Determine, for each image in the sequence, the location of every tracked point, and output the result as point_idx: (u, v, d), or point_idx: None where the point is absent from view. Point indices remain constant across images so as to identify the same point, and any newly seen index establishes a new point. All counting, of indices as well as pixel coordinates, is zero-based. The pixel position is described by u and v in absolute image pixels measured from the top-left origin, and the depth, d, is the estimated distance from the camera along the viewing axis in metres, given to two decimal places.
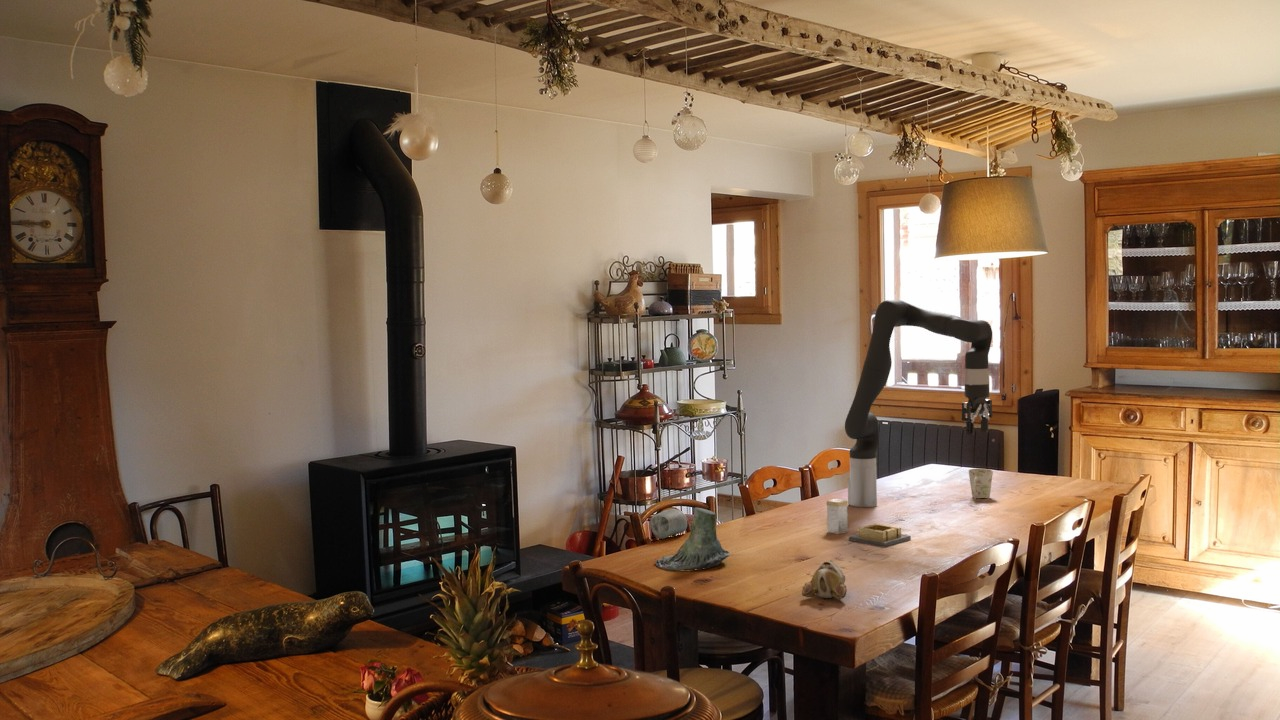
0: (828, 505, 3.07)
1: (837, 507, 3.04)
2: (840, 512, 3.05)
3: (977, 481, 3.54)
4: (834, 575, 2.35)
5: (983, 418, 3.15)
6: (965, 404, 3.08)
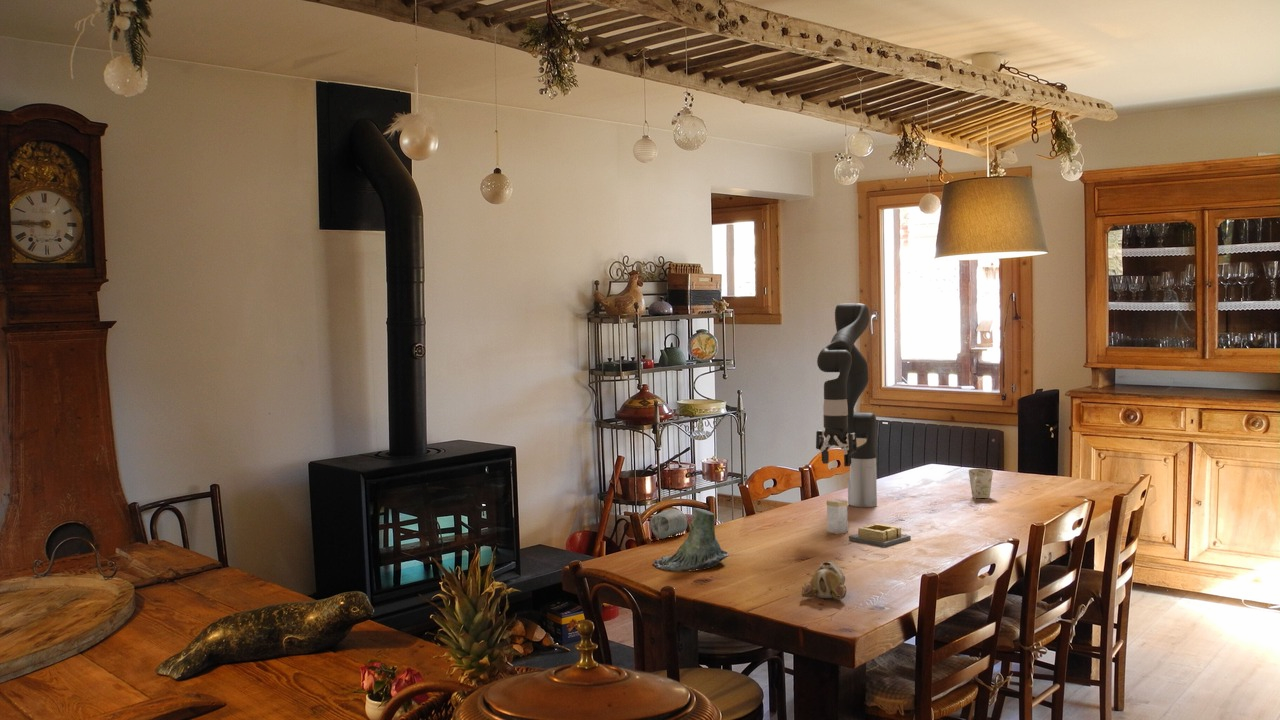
0: (828, 505, 3.07)
1: (837, 507, 3.04)
2: (840, 512, 3.05)
3: (977, 481, 3.54)
4: (834, 575, 2.35)
5: (825, 450, 3.09)
6: (853, 435, 3.01)
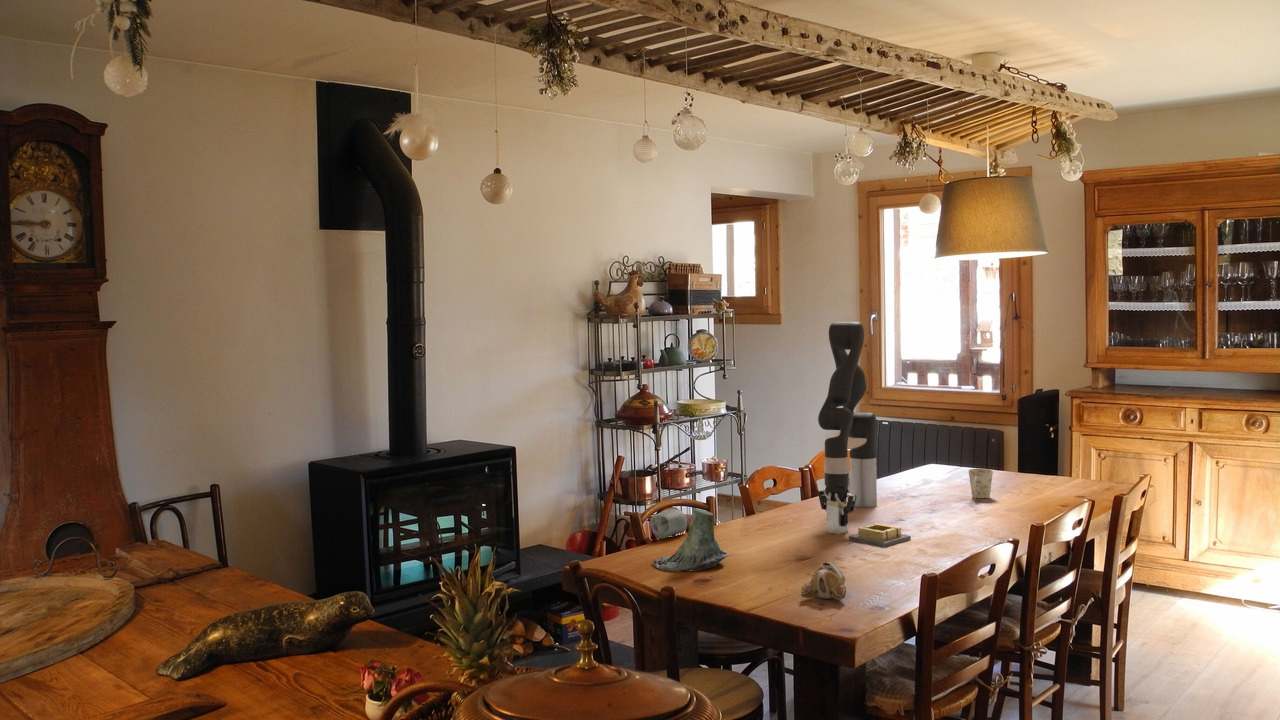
0: (828, 505, 3.07)
1: (837, 507, 3.04)
2: (840, 512, 3.05)
3: (977, 481, 3.54)
4: (833, 576, 2.34)
5: None
6: (854, 498, 3.02)
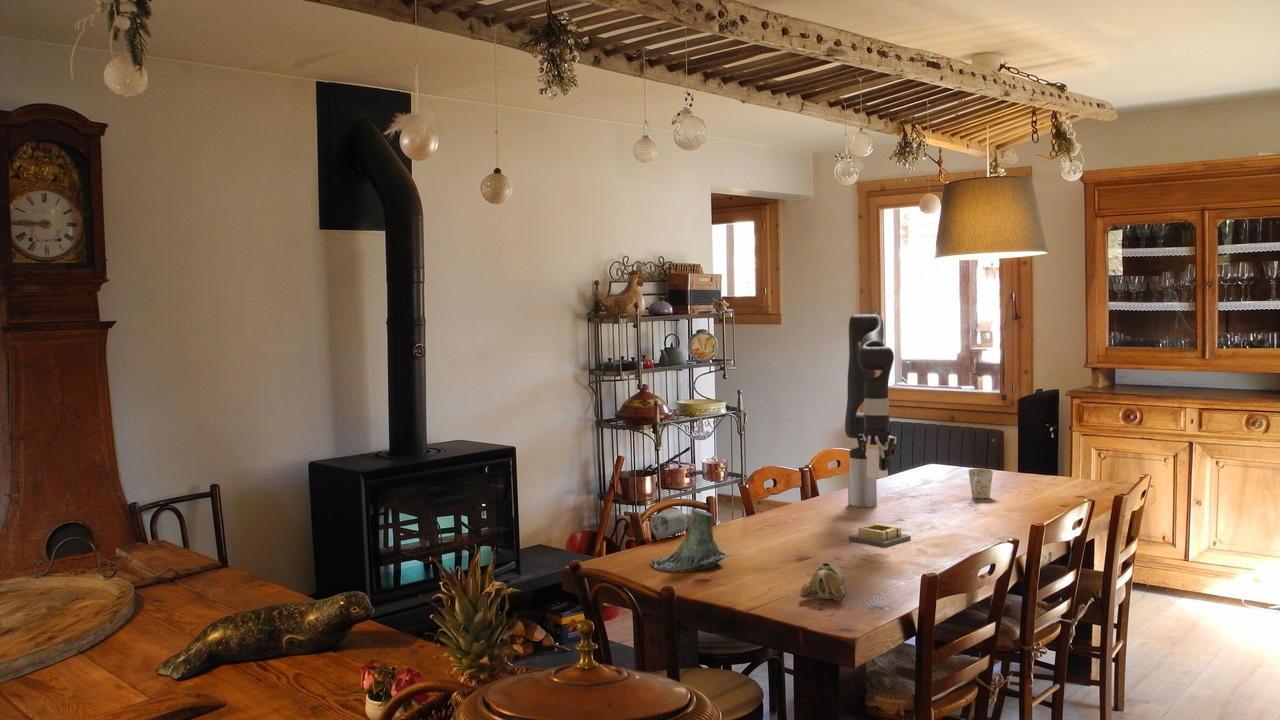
0: (867, 449, 2.94)
1: (877, 450, 2.91)
2: None
3: (977, 481, 3.54)
4: (833, 576, 2.34)
5: None
6: (895, 440, 2.89)
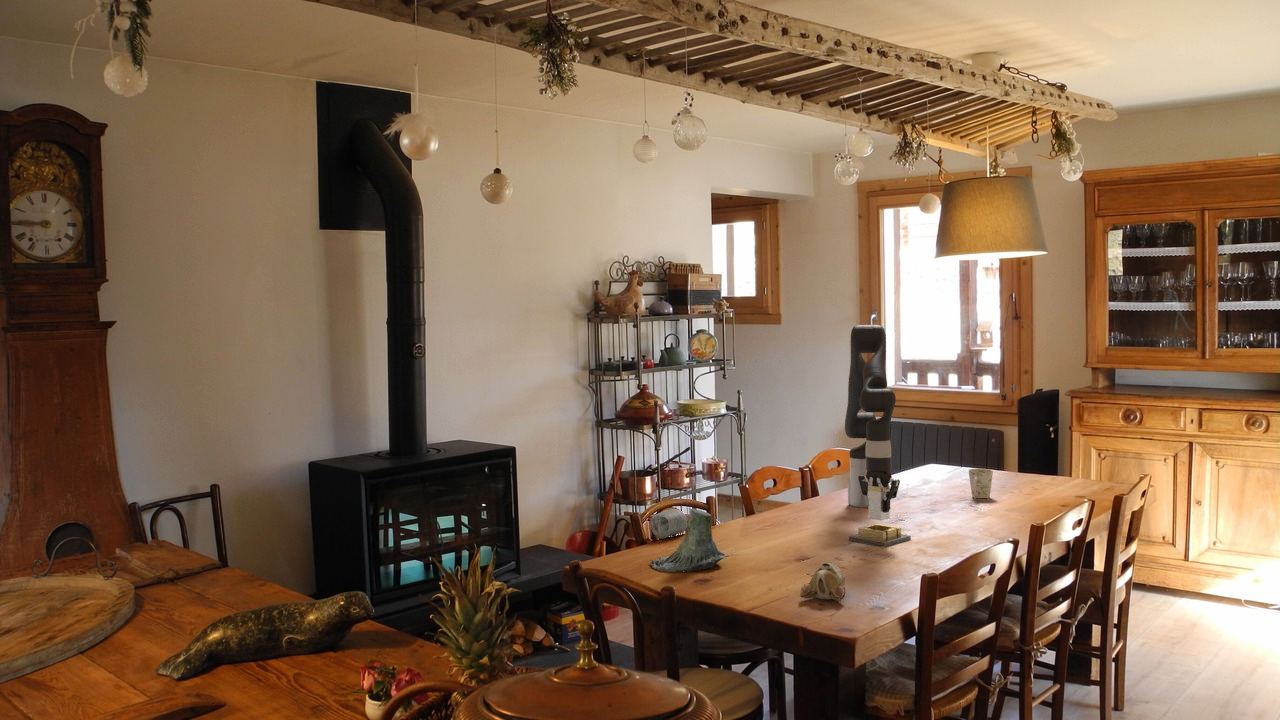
0: (869, 490, 2.94)
1: (879, 492, 2.92)
2: None
3: (977, 481, 3.54)
4: (833, 576, 2.34)
5: None
6: (897, 482, 2.89)
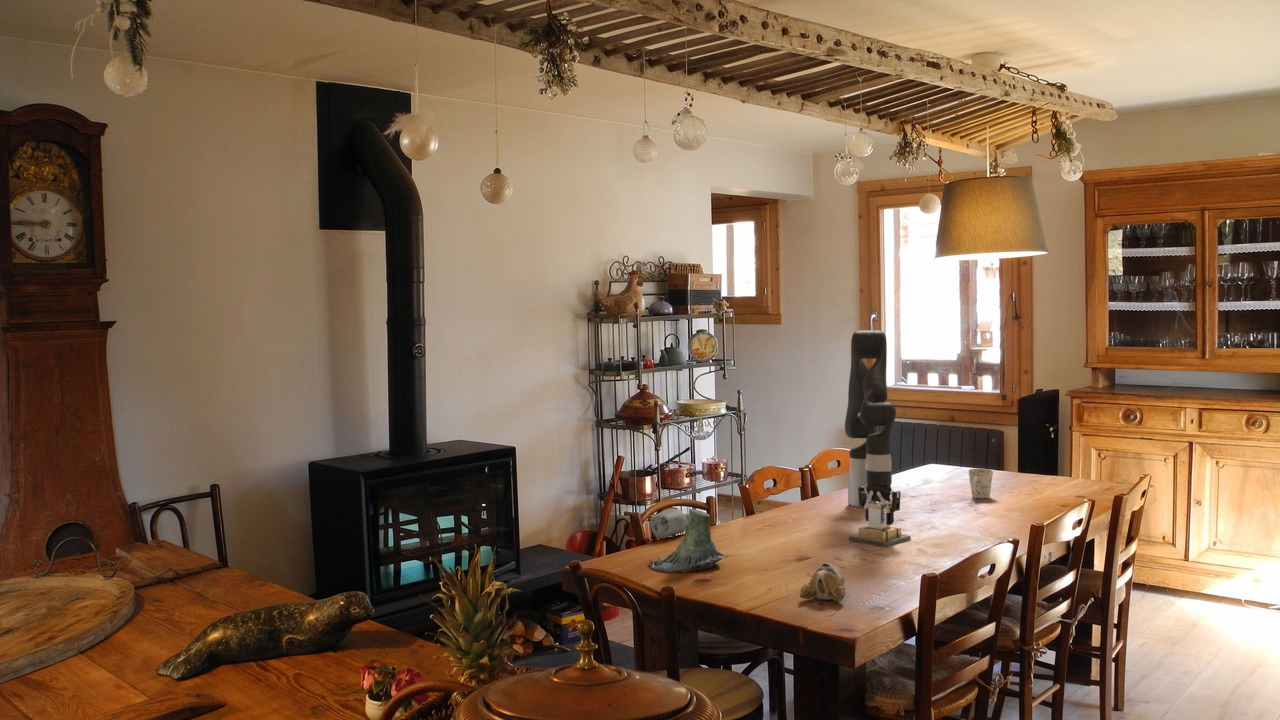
0: (870, 508, 2.94)
1: (879, 510, 2.92)
2: (883, 515, 2.92)
3: (977, 481, 3.54)
4: (832, 577, 2.34)
5: None
6: (898, 494, 2.89)
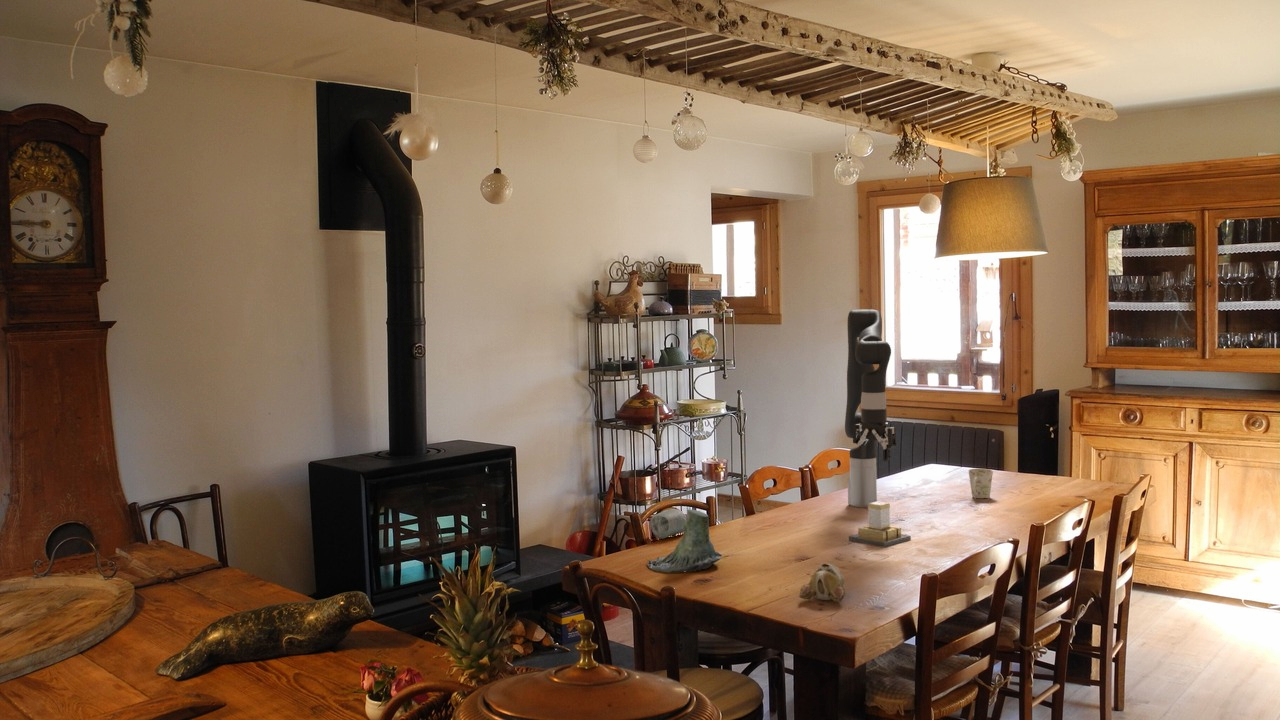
0: (870, 508, 2.94)
1: (879, 510, 2.92)
2: (883, 515, 2.92)
3: (977, 481, 3.54)
4: (832, 577, 2.33)
5: (862, 444, 3.00)
6: (893, 429, 2.92)
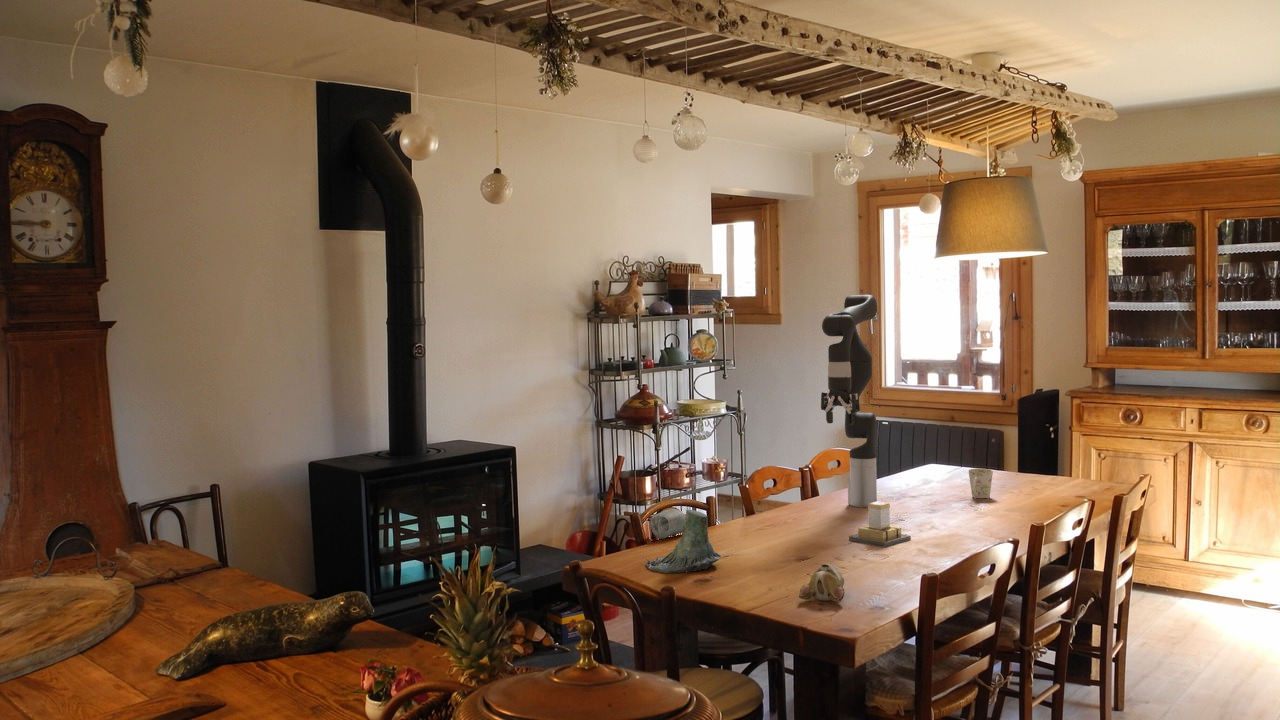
0: (870, 508, 2.94)
1: (879, 510, 2.92)
2: (883, 515, 2.92)
3: (977, 481, 3.54)
4: (832, 578, 2.33)
5: (829, 410, 3.26)
6: (856, 395, 3.18)
